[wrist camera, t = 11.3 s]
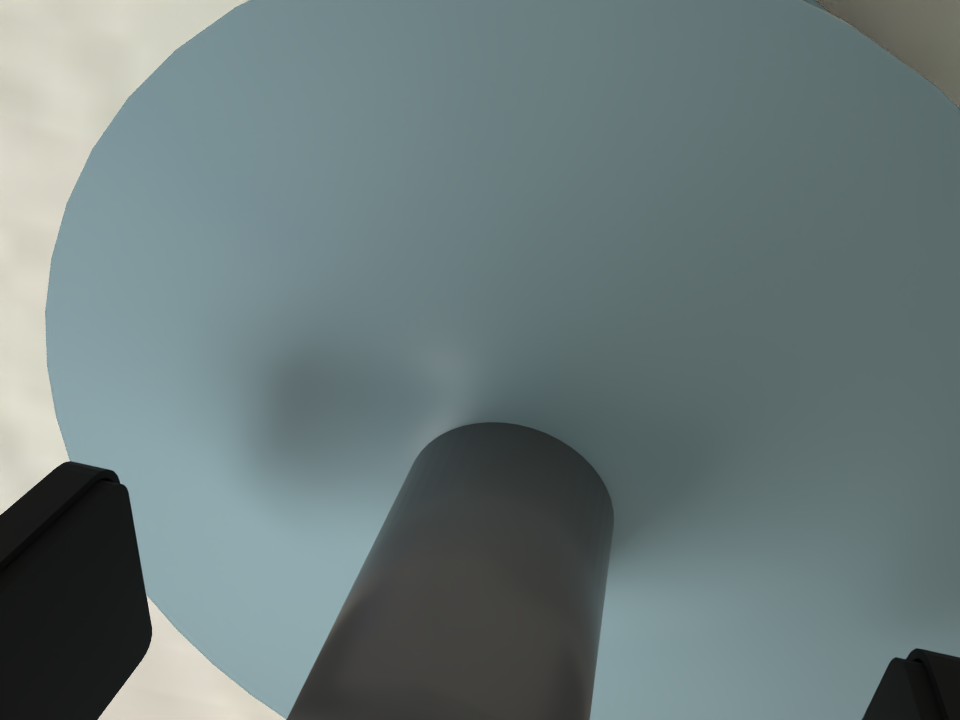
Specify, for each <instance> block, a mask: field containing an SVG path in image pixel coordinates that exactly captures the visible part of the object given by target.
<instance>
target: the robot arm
mask: <svg viewBox="0 0 960 720" xmlns="http://www.w3.org/2000/svg"><path fill="white" fill-rule="evenodd" d="M151 637H152V626H151V620H150V614H149V608H148V603H147V597H146V591H145V585H144V579H143V573H142V567H141V562H140V556H139V550H138V544H137V538H136V532H135V526H134V521H133V515H132V509H131V503H130V497H129V492H128V489H127V487H126V486H125V485H123V484H120V481H119V478H118V475H117V474H116V473H115V472H114V471H112V470H109V469H104V468H100V467H95V466H91V465H86V464H82V463H77V462H73V461H70V462H65V463H63V464H61V465H60V466H58V467H57V468H56V469H54V470H53V471H52V472H51V473H50V474H48V475H47V476H46V477H45V478H44V479H43V480H41V481H40V482H39V483H38V484H37V485H35V486H34V487H33V488H32V489H31V490H30V491H28V492H27V493H26V494H25V495H24V496H23V497H21V498H20V499H19V500H18V501H17V502H15V503H14V504H13V505H12V506H11V507H10V508H8V509H7V510H6V511H5V512H4V513H3V514H1V515H0V720H97V719H98V718H99V717H100V715H101V714H102V713H103V711H104V710H105V709H106V707H107V706H108V705H109V703H110V702H111V701H112V699H113V698H114V697H115V695H116V694H117V693H118V691H119V690H120V689H121V687H122V686H123V685H124V683H125V682H126V681H127V679H128V678H129V677H130V675H131V674H132V673H133V671H134V670H135V669H136V667H137V666H138V665H139V663H140V662H141V661H142V659H143V658H144V656H145V654H146V652H147V650H148V648H149V645H150V642H151ZM862 720H960V657H956V656H951V655H947V654H942V653H938V652H933V651H929V650H924V649H918V648H916V649H914V650H912V651H911V652H910V654H909V655H908V657H907V658H906V659H902V658H897V657H895V658H893V659H892V660H891V662H890V663H889V665H888V667H887V669H886V671H885V673H884V675H883V677H882V679H881V681H880V683H879V685H878V687H877V689H876V691H875V694H874V696H873V698H872V700H871V702H870V704H869V706H868V708H867V710H866V712H865V714H864V716H863V718H862Z"/></svg>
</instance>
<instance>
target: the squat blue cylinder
mask: <svg viewBox="0 0 960 720" xmlns="http://www.w3.org/2000/svg"><path fill="white" fill-rule="evenodd" d="M45 317H46V346H47V367H48V373H49V379H50V384H51V390H52V396H53V402H54V407H55V413H56V418H57V421H58V424H59V427H60V430H61V434H62V437H63V440H64V443H65V447H66V450H67V453H68V456H69V460H70V461H73V462H77V463H82V464H86V465H91V466H95V467H100V468H104V469H109V470H112V471H114V472H115V473H116V474H117V475H118V478H119V481H120V484H123V485H125V486H126V487H127V489H128V492H129V497H130V503H131V509H132V515H133V521H134V526H135V532H136V538H137V544H138V550H139V556H140V562H141V567H142V573H143V579H144V585H145V591H146V595H147V596H148V597H149V598H150V599H151V600H152V602H153V603H154V604H155V605H156V606H157V607H158V608H159V610H160V611H161V612H162V613H163V614H164V615H165V617H166V618H167V619H168V620H169V621H170V622H171V623H172V625H173V626H174V627H175V628H176V629H177V630H178V631H179V632H180V633H181V634H182V635H183V636H184V637H185V638H186V639H187V640H188V641H189V642H190V643H191V644H192V645H193V646H195V647H196V648H197V649H198V650H199V651H200V652H201V653H202V654H203V655H204V656H205V657H206V658H207V659H208V660H209V661H210V662H211V663H212V664H213V665H215V666H216V667H217V668H218V669H220V670H221V671H222V672H223V673H225V674H226V675H227V676H228V677H229V678H231V679H232V680H233V681H234V682H236V683H237V684H238V685H239V686H241V687H242V688H243V689H244V690H245V691H247V692H248V693H249V694H250V695H252V696H253V697H255V698H256V699H258V700H259V701H261V702H262V703H263V704H265V705H266V706H268V707H269V708H271V709H272V710H274V711H275V712H277V713H278V714H280V715H281V716H282V717H284V718H285V719H287V720H862V718H863V716H864V714H865V712H866V710H867V708H868V706H869V704H870V702H871V700H872V698H873V696H874V694H875V691H876V689H877V687H878V685H879V683H880V681H881V679H882V677H883V675H884V673H885V671H886V669H887V667H888V665H889V663H890V662H891V660H892V659H893V658H895V657H897V658H902V659H906V658H907V657H908V655H909V654H910V652H911V651H912V650H914V649H916V648H918V649H924V650H929V651H933V652H938V653H942V654H947V655H951V656H956V657H960V109H959V108H958V107H957V106H956V105H955V104H954V103H953V102H952V101H951V100H950V99H949V98H948V97H947V96H946V95H945V94H944V93H943V92H942V91H941V90H940V89H939V88H938V87H936V86H935V85H934V84H932V83H931V82H930V81H928V80H927V79H925V78H924V77H923V76H921V75H920V74H919V73H917V72H916V71H915V70H913V69H912V68H910V67H909V66H908V65H906V64H905V63H903V62H902V61H901V60H899V59H898V58H896V57H895V56H894V55H892V54H891V53H889V52H888V51H887V50H885V49H884V48H882V47H881V46H880V45H878V44H877V43H875V42H874V41H873V40H871V39H870V38H868V37H867V36H866V35H864V34H863V33H862V32H860V31H859V30H857V29H856V28H855V27H853V26H852V25H850V24H849V23H848V22H846V21H844V20H842V19H840V18H838V17H836V16H834V15H832V14H831V13H830V12H828V11H827V10H826V9H825V8H824V7H823V6H821V5H820V4H819V3H818V2H817V1H815V0H250V1H248V2H246V3H244V4H241V5H239V6H237V7H235V8H234V9H233V10H231V11H230V12H228V13H227V14H226V15H224V16H223V17H221V18H220V19H219V20H217V21H216V22H214V23H213V24H212V25H210V26H209V27H207V28H206V29H205V30H203V31H202V32H200V33H199V34H198V35H196V36H195V37H193V38H192V39H190V40H189V41H188V42H186V43H185V44H183V45H182V46H181V47H179V48H178V49H176V50H175V51H174V52H173V53H172V54H171V55H170V56H169V57H168V58H167V59H166V60H165V61H164V62H163V63H162V64H161V65H160V66H159V67H158V68H157V69H156V70H155V72H154V73H153V74H152V75H151V76H150V77H149V78H148V79H147V80H146V81H145V82H144V83H143V84H142V85H141V86H140V87H139V88H138V89H137V90H136V91H135V92H134V93H133V94H132V95H131V96H130V97H129V98H128V99H127V100H126V102H125V103H124V105H123V106H122V108H121V109H120V110H119V112H118V113H117V115H116V116H115V118H114V119H113V121H112V122H111V123H110V125H109V126H108V128H107V129H106V131H105V132H104V133H103V135H102V136H101V138H100V139H99V141H98V142H97V143H96V145H95V146H94V148H93V149H92V151H91V153H90V155H89V157H88V160H87V162H86V164H85V166H84V168H83V170H82V172H81V174H80V177H79V179H78V181H77V183H76V185H75V187H74V189H73V192H72V194H71V196H70V198H69V200H68V202H67V205H66V208H65V212H64V215H63V219H62V223H61V226H60V230H59V233H58V237H57V240H56V244H55V248H54V251H53V255H52V258H51V267H50V276H49V285H48V293H47V302H46V311H45Z"/></svg>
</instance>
